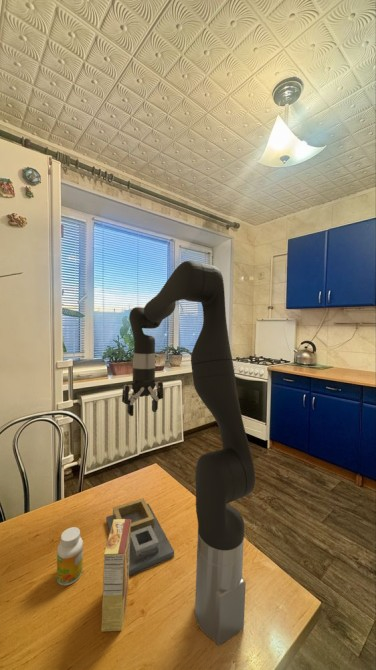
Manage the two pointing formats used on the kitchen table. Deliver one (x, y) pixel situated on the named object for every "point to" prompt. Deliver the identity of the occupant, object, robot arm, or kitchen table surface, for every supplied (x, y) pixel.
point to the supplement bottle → (69, 556)
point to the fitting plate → (143, 536)
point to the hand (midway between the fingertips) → (142, 413)
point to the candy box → (116, 575)
